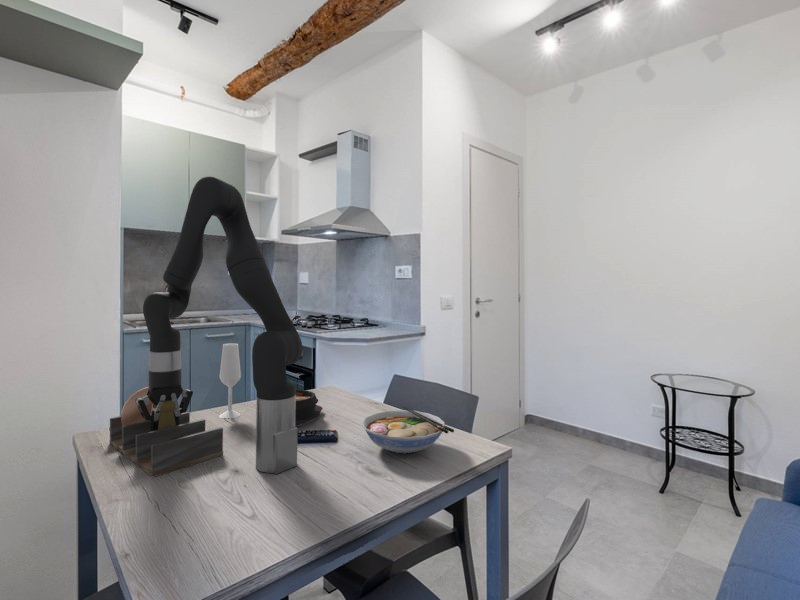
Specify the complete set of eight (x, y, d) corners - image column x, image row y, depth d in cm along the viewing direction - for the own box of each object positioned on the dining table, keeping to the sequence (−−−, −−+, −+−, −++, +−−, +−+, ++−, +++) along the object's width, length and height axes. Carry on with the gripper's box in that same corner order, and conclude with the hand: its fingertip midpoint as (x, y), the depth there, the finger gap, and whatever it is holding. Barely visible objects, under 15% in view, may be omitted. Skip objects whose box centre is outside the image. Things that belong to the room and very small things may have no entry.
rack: (223, 454, 105) (223, 397, 105) (153, 477, 93) (153, 411, 92) (173, 427, 124) (173, 379, 124) (109, 443, 111) (109, 388, 111)
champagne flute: (240, 411, 142) (241, 342, 141) (240, 417, 135) (241, 345, 135) (219, 413, 139) (219, 343, 138) (218, 419, 133) (219, 346, 132)
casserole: (289, 406, 149) (290, 383, 148) (335, 413, 143) (335, 389, 142) (242, 428, 125) (242, 401, 125) (294, 437, 119) (294, 408, 119)
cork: (169, 445, 105) (169, 402, 105) (146, 444, 105) (146, 402, 105) (182, 436, 111) (182, 396, 111) (160, 436, 111) (160, 396, 111)
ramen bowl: (347, 439, 118) (348, 411, 118) (416, 428, 128) (417, 402, 128) (384, 475, 96) (385, 441, 96) (464, 459, 106) (464, 427, 106)
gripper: (140, 373, 100) (140, 443, 100) (199, 365, 111) (198, 428, 111) (129, 369, 105) (129, 435, 105) (186, 362, 116) (186, 422, 116)
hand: (165, 431), depth 108 cm, fingers closed on cork, 3 cm apart
